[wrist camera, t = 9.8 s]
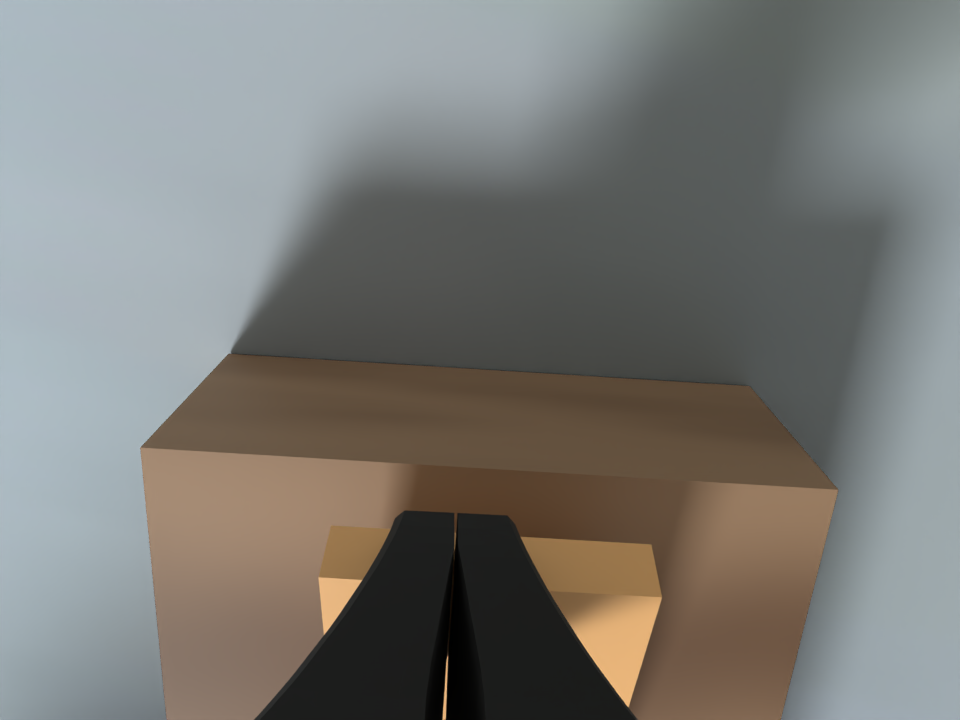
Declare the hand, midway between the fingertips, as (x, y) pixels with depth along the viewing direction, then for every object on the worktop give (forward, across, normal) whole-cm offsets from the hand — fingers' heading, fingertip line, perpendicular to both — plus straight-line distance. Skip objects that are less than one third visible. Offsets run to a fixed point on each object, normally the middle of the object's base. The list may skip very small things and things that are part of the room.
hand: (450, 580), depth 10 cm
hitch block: (+6, -1, +6) cm, 8 cm away
